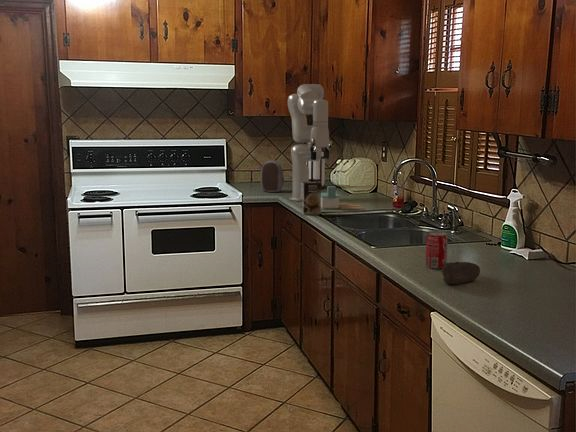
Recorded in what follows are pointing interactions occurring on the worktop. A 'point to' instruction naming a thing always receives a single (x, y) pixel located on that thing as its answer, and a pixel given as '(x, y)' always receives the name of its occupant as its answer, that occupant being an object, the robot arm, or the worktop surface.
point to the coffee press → (317, 170)
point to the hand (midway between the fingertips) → (319, 159)
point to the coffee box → (310, 198)
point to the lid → (330, 193)
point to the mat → (350, 206)
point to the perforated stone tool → (460, 272)
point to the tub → (329, 203)
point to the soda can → (436, 250)
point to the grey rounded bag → (272, 176)
